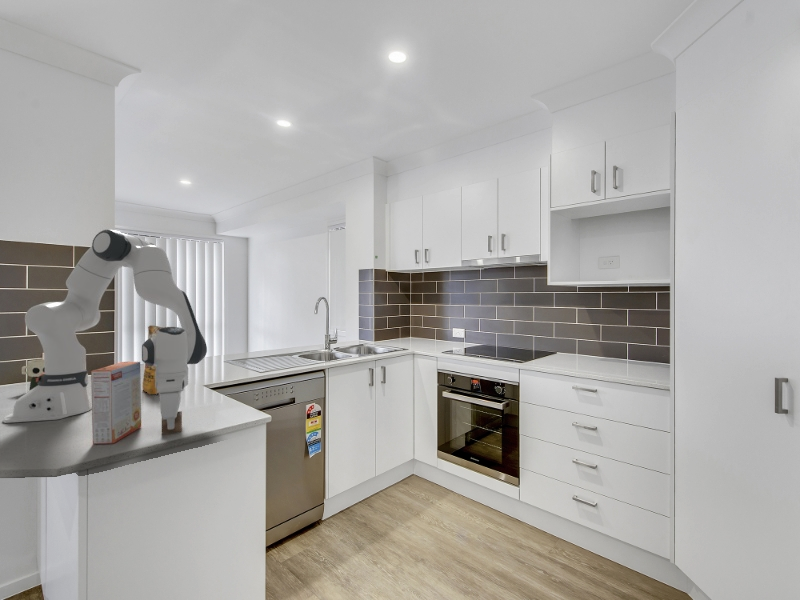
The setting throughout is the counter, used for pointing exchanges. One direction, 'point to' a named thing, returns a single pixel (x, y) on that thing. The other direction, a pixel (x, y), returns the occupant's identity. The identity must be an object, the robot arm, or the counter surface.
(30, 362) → the character mug
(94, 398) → the cracker box
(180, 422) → the walnut cube
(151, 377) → the pancake mix bag
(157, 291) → the robot arm
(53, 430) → the counter surface
